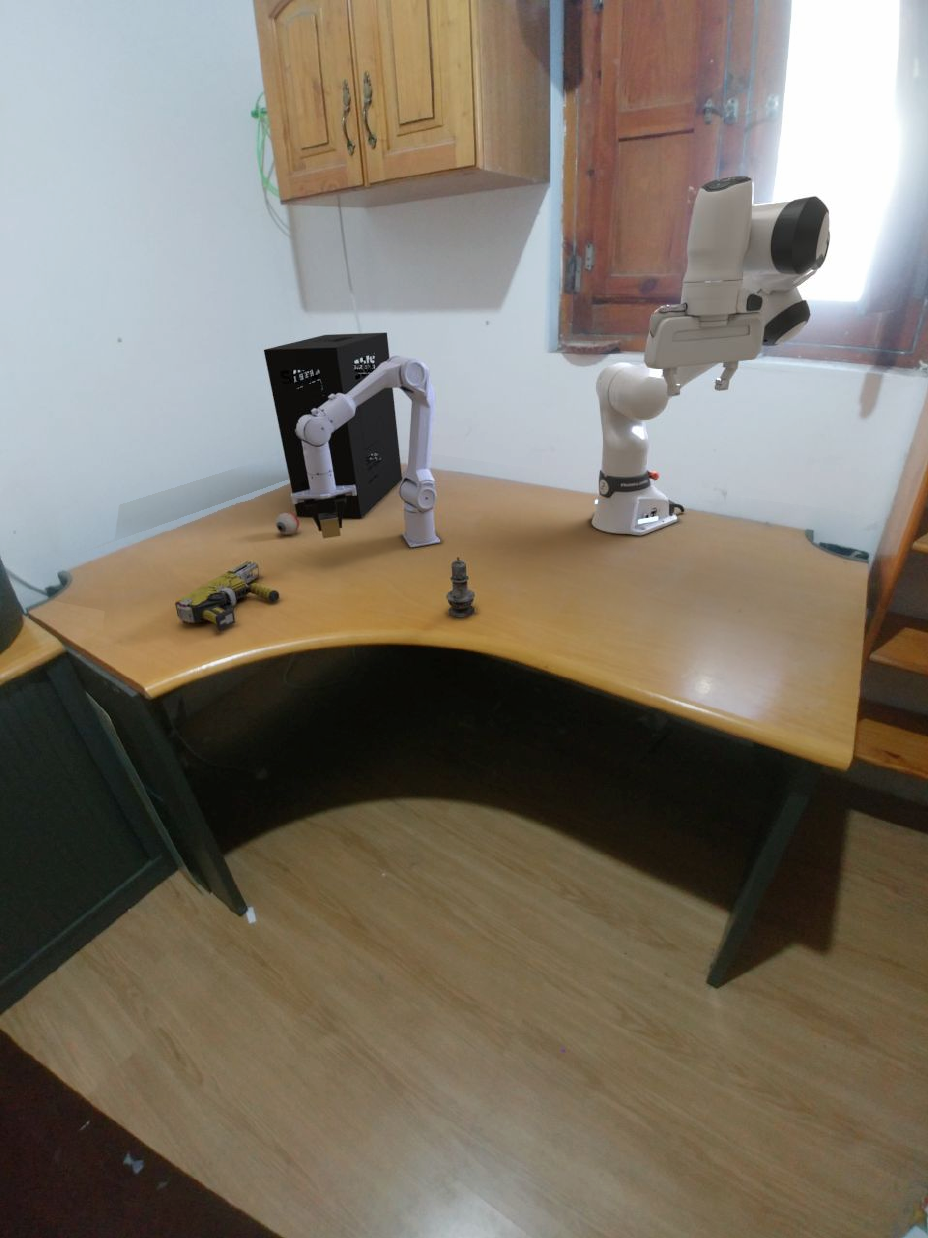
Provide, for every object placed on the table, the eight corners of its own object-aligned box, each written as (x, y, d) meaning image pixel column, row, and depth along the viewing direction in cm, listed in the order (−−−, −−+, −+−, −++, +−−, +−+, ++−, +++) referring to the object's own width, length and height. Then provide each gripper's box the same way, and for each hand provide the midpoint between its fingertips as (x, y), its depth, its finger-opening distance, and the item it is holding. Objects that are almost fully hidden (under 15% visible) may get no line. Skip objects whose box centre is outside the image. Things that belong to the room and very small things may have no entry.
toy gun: (300, 570, 137) (245, 558, 141) (232, 617, 117) (169, 602, 121) (302, 588, 139) (247, 576, 143) (235, 638, 119) (173, 622, 123)
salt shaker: (472, 618, 120) (470, 563, 114) (444, 617, 121) (439, 562, 115) (478, 604, 125) (475, 551, 119) (450, 603, 126) (446, 550, 120)
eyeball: (273, 537, 164) (268, 516, 161) (287, 528, 169) (282, 508, 166) (291, 539, 161) (286, 518, 158) (305, 530, 166) (301, 510, 163)
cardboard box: (361, 518, 173) (336, 347, 150) (296, 515, 177) (263, 349, 155) (402, 478, 204) (386, 332, 182) (346, 477, 209) (325, 334, 186)
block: (323, 538, 140) (319, 520, 138) (321, 531, 144) (318, 514, 142) (340, 535, 141) (337, 517, 139) (338, 529, 145) (335, 511, 143)
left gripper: (287, 480, 130) (299, 539, 137) (354, 471, 133) (363, 529, 140) (286, 471, 136) (298, 528, 143) (350, 463, 139) (359, 519, 146)
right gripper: (663, 306, 91) (653, 402, 98) (776, 297, 96) (759, 389, 103) (641, 305, 97) (633, 395, 103) (750, 297, 101) (735, 384, 108)
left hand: (330, 528), depth 142 cm, fingers closed on block, 4 cm apart
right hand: (697, 392), depth 103 cm, fingers open, 8 cm apart
